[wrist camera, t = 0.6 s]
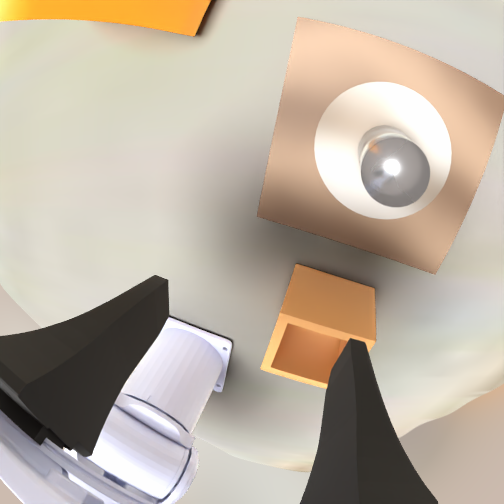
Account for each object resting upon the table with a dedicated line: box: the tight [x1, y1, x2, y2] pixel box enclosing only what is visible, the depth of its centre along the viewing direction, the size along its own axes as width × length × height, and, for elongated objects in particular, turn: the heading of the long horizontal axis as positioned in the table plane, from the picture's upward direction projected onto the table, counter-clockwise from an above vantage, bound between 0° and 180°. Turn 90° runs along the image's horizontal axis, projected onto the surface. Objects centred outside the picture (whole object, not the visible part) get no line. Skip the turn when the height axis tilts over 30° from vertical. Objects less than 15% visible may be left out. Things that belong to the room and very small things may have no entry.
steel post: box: [358, 125, 430, 208], centre depth 13 cm, size 3×3×5 cm
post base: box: [257, 17, 504, 274], centre depth 15 cm, size 12×12×1 cm
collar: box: [260, 264, 376, 389], centre depth 20 cm, size 6×6×5 cm
